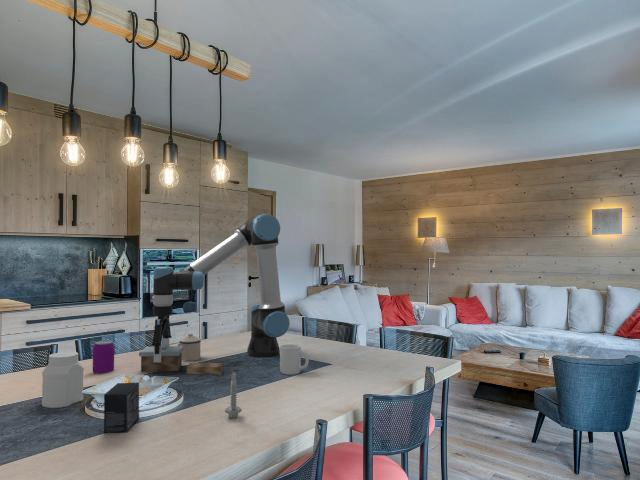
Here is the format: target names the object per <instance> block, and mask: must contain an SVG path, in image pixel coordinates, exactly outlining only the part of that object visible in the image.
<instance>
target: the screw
mask: <svg viewBox="0 0 640 480" xmlns="http://www.w3.org/2000/svg"><path fill="white" fill-rule="evenodd" d="M237 385H238V382H237V373H236V372H234V371H233V372H231V379H230V388H229V389H230V390H229V391H230V396H229V397H230V402H229V404H230V406H228V407H226V408H225V409H224V413H226V414H228V418H229V419H232V420H233V419H237V418H238V417H239V414H240V413H241V412H242V408H241V407H240V406H237V404H238V401H237V398H238V397H237V396H238V395H237V394H238V393H237V392H238V387H237Z"/></svg>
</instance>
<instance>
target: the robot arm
mask: <svg viewBox="0 0 640 480" xmlns="http://www.w3.org/2000/svg"><path fill="white" fill-rule="evenodd" d="M280 232H281V224H280V222H279V220H278V218H276V216H274V215H272V214H268V213H261V214H259V215H254V216H252V217H250V218H249V219H247V220H246V221H245V222H244V223H242V225H241V226H239V227H237V229H235V230H234V233H233V234H232V235H230V236H228V237H227V238H226V239H225V240H223V241H222V242H220V243H218V244H217V245H216V246H214V247H213V248H212V249H210V250H209V251H207V252H206V253H204V254H203V255H201V256H200V257H198V258H197V259H196V260H194V261H193V262H191V263H190V264H189V265H187V266H186V267H184V268H183V269H180V270H179V271H175V270H174V267H173V266H156V267H155V268H154V269H153V278H152V279H153V281H152V284H153V285H152V288H153V289H152V290H153V291H152V292H153V293H152V294H153V296H152V297H151V299H152V304H153V306H152V315H153V316H155V317H156V316H157V318H156V319H155V320H154V330H153V335H152V343H151V347H154V362H161V349H162V346H170V339H172V334H171V323H170V316H171V315H173V303H174V302H173V301H174V294H173V292H174V291H197V290H202V289H203V287H204V276H205V275H207V274H208V273H209V272H210V271H211V272H212V270H214V269H215V268H217V267H218V266H219V265H220V264H222V263H223V262H225V261H226V260H228V259H229V258H230V257H232V256H233V255H235V254H236V253H237V252H239V251H240V250H241V249H243V248H245V247H246V248H248V247H250V246H251V245H252V247H253V248H254V249H255V251H256V252H255V253H256V260H257V270H258V271H257V273H258V282H259V290H260V291H259V293H260V302H261V303H260V304H254V305H253V306H252V307H251V311H250V315H251V317H250V318H251V324H250V325H251V327H250V329H251V331H250V334H251V335H250V340H249V343H248V347H247V349H246V352H247V355H248V356H250V357H255V358H268V357H270V358H271V357H275V356H276V357H277V356H278V355H280V346H279V343H278V339H277V338H280V337H283V336H284V335H285V334H286V333H287V332H288V330H289V328H290V323H291V322H290V317H289V316H288V315H287V313H286V306H285V303H284V302H282V301H281V298H282V297H281V289H280V280H279V268H278V260H277V259H278V257H277V247H278V245H279V235H280Z"/></svg>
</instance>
